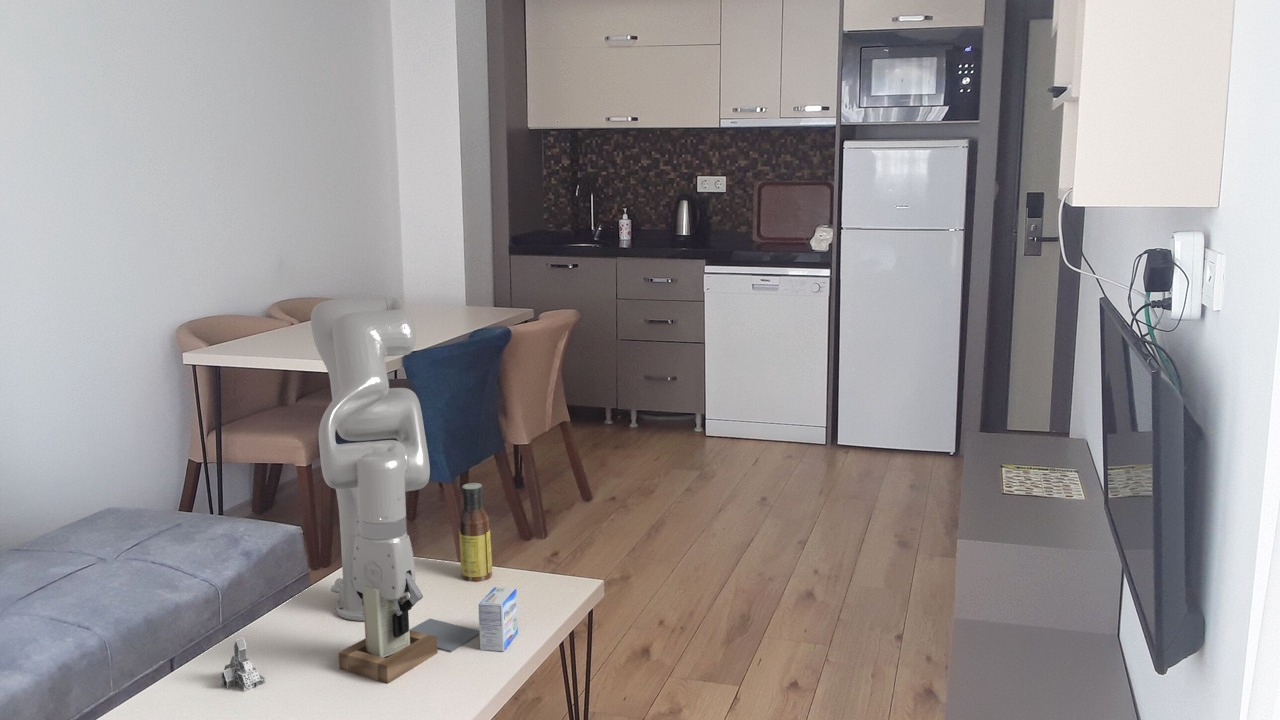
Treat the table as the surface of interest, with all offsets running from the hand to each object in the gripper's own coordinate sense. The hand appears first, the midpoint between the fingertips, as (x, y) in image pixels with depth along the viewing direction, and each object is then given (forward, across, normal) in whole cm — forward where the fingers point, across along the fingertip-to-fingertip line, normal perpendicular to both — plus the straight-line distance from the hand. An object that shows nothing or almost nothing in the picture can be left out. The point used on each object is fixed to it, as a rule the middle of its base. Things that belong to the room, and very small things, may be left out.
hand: (387, 629), depth 176 cm
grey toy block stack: (+6, -17, -19) cm, 26 cm away
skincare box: (+4, 0, 0) cm, 4 cm away
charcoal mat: (+6, +2, +12) cm, 13 cm away
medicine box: (+6, +12, +15) cm, 20 cm away
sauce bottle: (+6, -10, +37) cm, 38 cm away
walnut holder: (+5, 0, 0) cm, 5 cm away
